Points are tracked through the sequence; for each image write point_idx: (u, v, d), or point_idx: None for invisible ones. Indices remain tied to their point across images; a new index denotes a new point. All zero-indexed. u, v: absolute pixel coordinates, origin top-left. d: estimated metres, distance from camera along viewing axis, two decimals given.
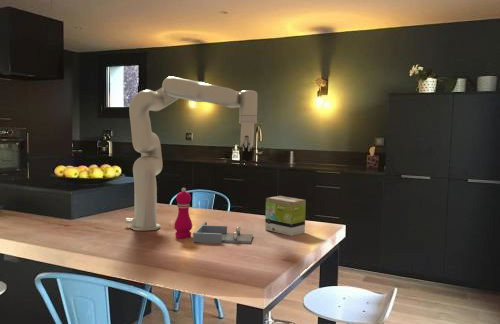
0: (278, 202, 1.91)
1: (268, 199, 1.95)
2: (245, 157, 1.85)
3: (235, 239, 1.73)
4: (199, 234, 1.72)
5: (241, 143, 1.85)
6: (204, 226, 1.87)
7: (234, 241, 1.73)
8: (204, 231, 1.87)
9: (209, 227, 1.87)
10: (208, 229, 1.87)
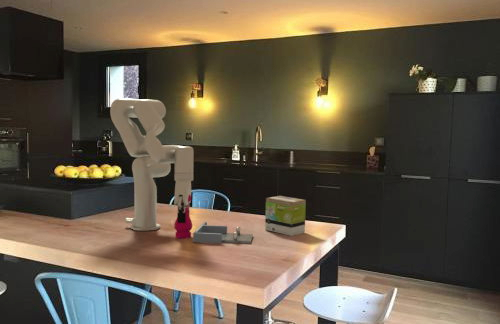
0: (278, 202, 1.91)
1: (268, 199, 1.95)
2: (180, 219, 1.77)
3: (235, 239, 1.73)
4: (199, 234, 1.72)
5: (175, 202, 1.76)
6: (204, 226, 1.87)
7: (234, 241, 1.73)
8: (204, 231, 1.87)
9: (209, 227, 1.87)
10: (208, 229, 1.87)
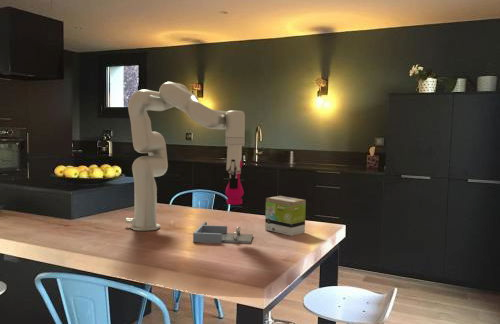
0: (278, 202, 1.91)
1: (268, 199, 1.95)
2: (232, 185, 1.74)
3: (235, 239, 1.73)
4: (199, 234, 1.72)
5: (227, 167, 1.73)
6: (204, 226, 1.87)
7: (234, 241, 1.73)
8: (204, 231, 1.87)
9: (209, 227, 1.87)
10: (208, 229, 1.87)
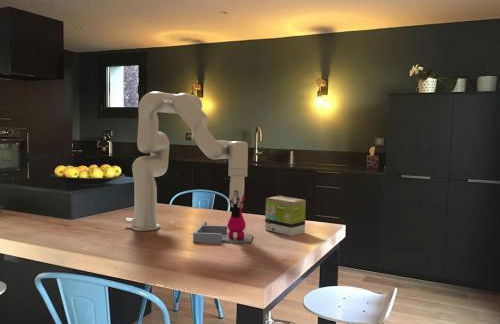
0: (278, 202, 1.91)
1: (268, 199, 1.95)
2: (234, 214, 1.73)
3: (235, 239, 1.73)
4: (199, 234, 1.72)
5: (230, 198, 1.73)
6: (204, 226, 1.87)
7: (234, 241, 1.73)
8: (204, 231, 1.87)
9: (209, 227, 1.87)
10: (208, 229, 1.87)
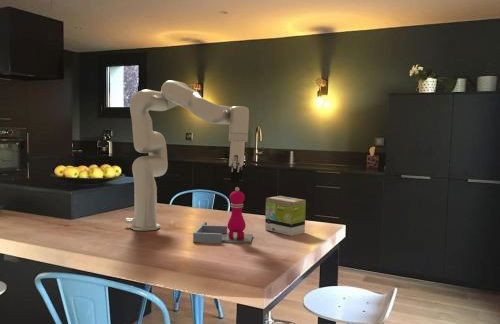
0: (278, 202, 1.91)
1: (268, 199, 1.95)
2: (234, 178, 1.72)
3: (235, 239, 1.73)
4: (199, 234, 1.72)
5: (230, 163, 1.73)
6: (204, 226, 1.87)
7: (234, 241, 1.73)
8: (204, 231, 1.87)
9: (209, 227, 1.87)
10: (208, 229, 1.87)
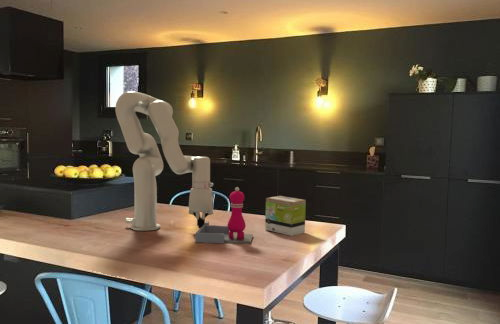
0: (278, 202, 1.91)
1: (268, 199, 1.95)
2: None
3: (235, 239, 1.73)
4: (201, 234, 1.72)
5: None
6: (206, 226, 1.87)
7: (234, 241, 1.73)
8: (206, 231, 1.87)
9: (211, 227, 1.87)
10: (210, 229, 1.87)
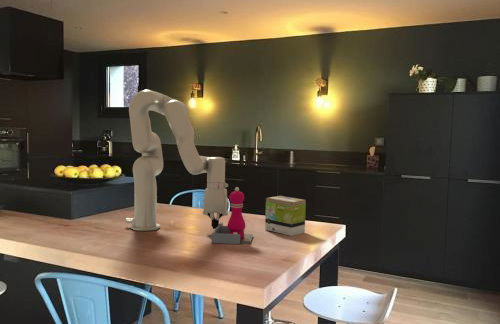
0: (278, 202, 1.91)
1: (268, 199, 1.95)
2: None
3: None
4: (217, 235, 1.72)
5: None
6: (221, 227, 1.86)
7: None
8: (221, 232, 1.86)
9: (226, 228, 1.86)
10: (225, 230, 1.86)
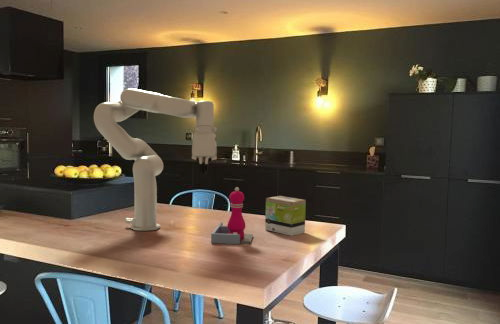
0: (278, 202, 1.91)
1: (268, 199, 1.95)
2: None
3: None
4: (217, 235, 1.72)
5: None
6: (221, 227, 1.86)
7: None
8: (221, 232, 1.86)
9: (226, 228, 1.86)
10: (225, 230, 1.86)
